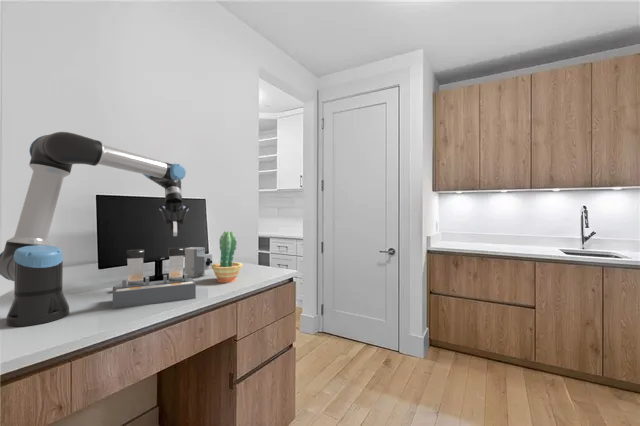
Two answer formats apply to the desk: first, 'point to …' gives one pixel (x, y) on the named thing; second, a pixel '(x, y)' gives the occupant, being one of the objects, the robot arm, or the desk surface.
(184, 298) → the switch base
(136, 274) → the left lever
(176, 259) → the right lever
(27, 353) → the desk surface
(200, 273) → the circuit breaker
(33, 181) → the robot arm
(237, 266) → the potted cactus
